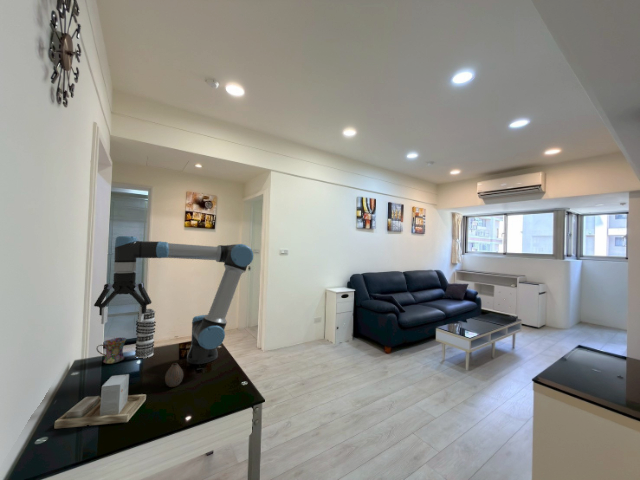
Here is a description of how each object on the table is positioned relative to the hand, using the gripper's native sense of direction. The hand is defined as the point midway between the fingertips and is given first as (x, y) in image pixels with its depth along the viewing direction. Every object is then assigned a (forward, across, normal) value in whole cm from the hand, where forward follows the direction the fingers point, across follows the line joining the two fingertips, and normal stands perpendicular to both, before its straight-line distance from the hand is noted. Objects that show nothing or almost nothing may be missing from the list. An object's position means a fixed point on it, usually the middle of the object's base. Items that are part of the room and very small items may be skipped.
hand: (122, 322), depth 108 cm
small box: (+27, -6, +17) cm, 33 cm away
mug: (+28, +18, -30) cm, 44 cm away
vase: (+28, -21, +1) cm, 35 cm away
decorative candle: (+28, +5, -35) cm, 45 cm away
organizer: (+27, -3, +17) cm, 33 cm away
